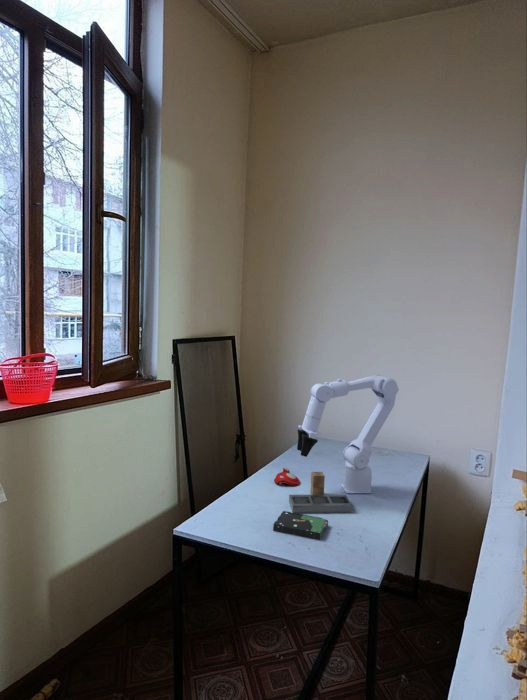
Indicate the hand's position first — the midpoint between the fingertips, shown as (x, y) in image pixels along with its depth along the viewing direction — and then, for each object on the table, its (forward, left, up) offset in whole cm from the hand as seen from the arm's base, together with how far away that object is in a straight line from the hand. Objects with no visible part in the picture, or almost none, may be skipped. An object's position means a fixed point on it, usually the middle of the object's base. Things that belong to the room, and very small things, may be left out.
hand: (301, 453), depth 173 cm
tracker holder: (+2, -13, -16) cm, 21 cm away
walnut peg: (-6, 0, -15) cm, 17 cm away
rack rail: (-5, +10, -15) cm, 19 cm away
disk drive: (+4, +25, -16) cm, 30 cm away
